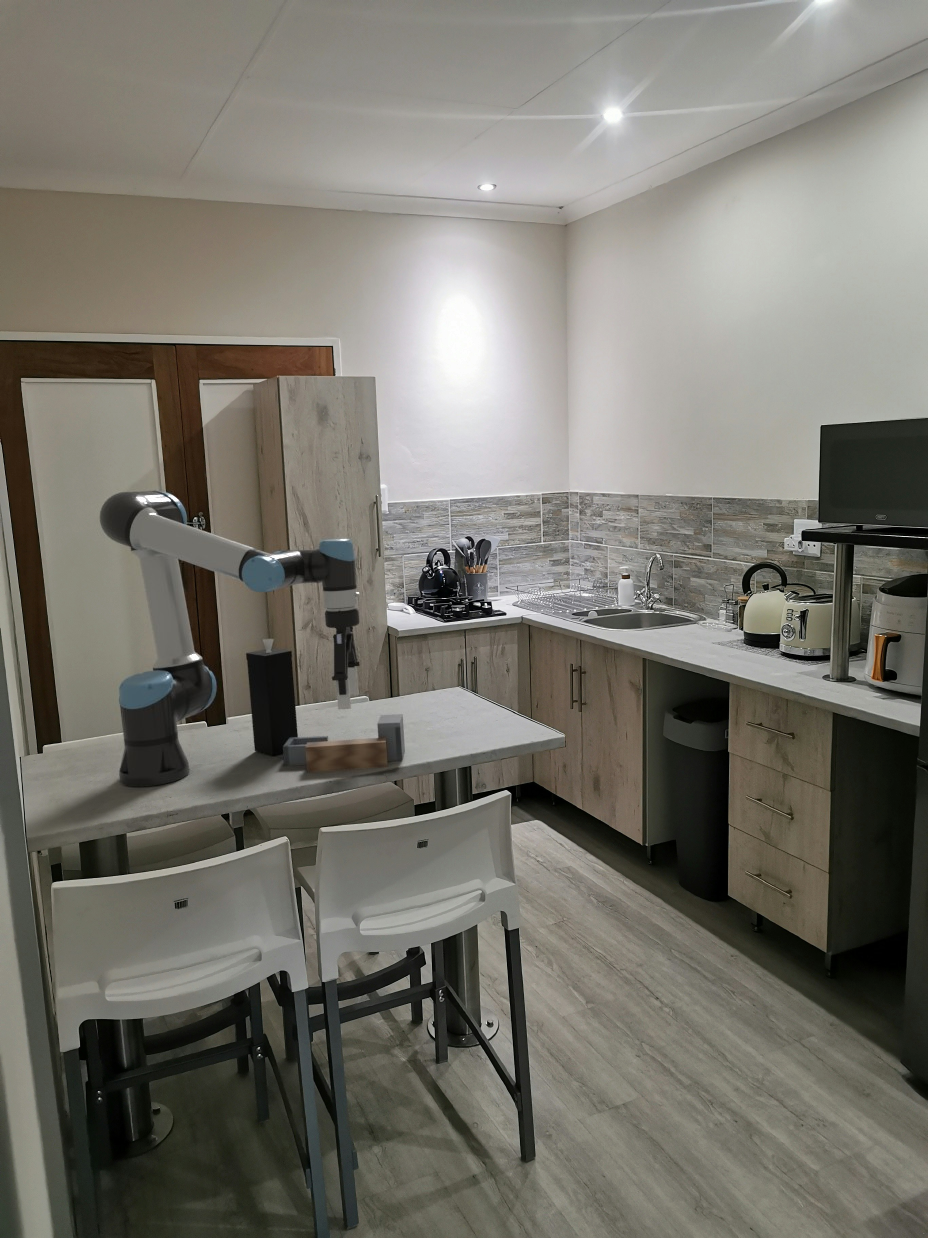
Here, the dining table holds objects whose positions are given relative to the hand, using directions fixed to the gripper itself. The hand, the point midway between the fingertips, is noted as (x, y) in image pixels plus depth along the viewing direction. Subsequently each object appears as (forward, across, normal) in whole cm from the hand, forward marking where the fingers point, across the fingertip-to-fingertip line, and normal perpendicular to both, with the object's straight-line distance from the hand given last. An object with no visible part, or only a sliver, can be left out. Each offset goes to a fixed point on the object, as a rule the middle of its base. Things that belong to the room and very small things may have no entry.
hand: (348, 701), depth 208 cm
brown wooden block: (+15, 0, +1) cm, 15 cm away
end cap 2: (+15, +7, -8) cm, 19 cm away
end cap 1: (+15, +7, +12) cm, 20 cm away
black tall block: (+15, +16, +21) cm, 31 cm away
